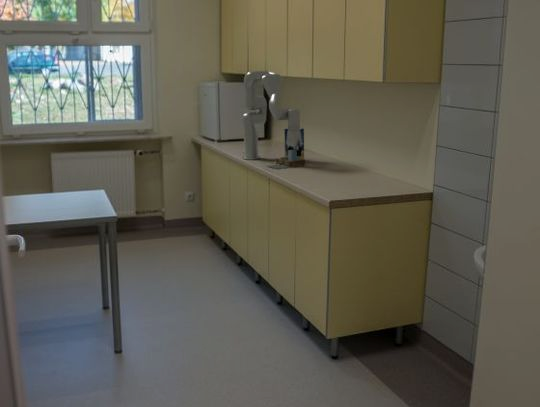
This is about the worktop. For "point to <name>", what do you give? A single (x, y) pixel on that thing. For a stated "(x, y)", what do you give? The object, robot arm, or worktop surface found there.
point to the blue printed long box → (295, 147)
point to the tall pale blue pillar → (293, 155)
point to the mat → (277, 166)
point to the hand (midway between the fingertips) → (294, 155)
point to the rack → (290, 163)
